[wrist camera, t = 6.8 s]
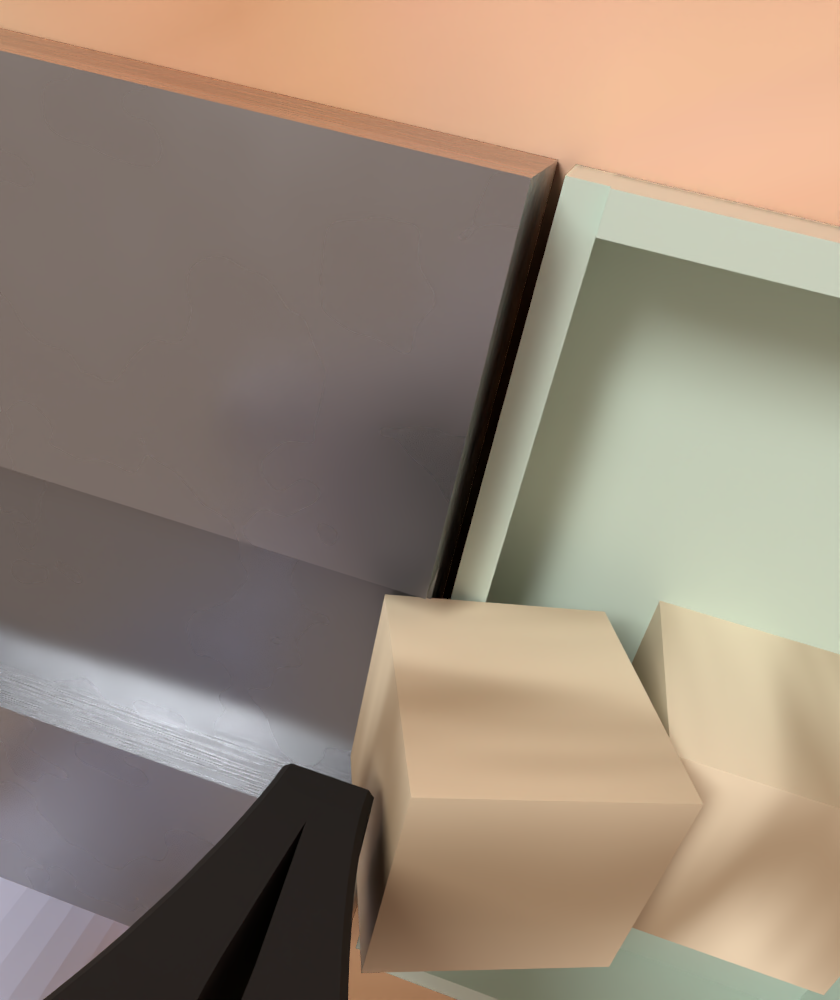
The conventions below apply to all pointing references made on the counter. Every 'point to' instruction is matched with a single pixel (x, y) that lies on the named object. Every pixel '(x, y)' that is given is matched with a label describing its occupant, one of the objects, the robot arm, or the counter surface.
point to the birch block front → (508, 789)
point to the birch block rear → (750, 795)
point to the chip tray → (666, 471)
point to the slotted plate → (220, 439)
